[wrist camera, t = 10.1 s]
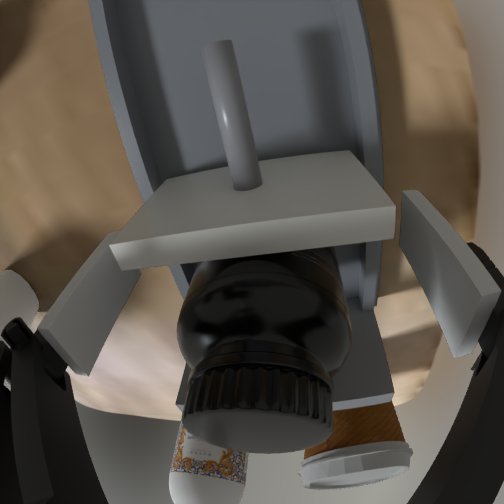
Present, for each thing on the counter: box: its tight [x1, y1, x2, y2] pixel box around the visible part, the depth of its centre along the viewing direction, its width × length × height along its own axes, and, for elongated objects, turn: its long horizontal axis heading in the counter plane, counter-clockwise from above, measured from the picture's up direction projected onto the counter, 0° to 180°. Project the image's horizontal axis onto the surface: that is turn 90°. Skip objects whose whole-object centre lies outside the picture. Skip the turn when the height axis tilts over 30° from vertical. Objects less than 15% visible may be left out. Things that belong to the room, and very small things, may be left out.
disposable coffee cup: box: [298, 400, 413, 490], centre depth 21 cm, size 10×10×12 cm
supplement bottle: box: [177, 246, 352, 454], centre depth 13 cm, size 7×7×12 cm
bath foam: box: [169, 420, 249, 504], centre depth 21 cm, size 7×7×20 cm
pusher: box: [109, 40, 396, 271], centre depth 11 cm, size 7×10×7 cm
